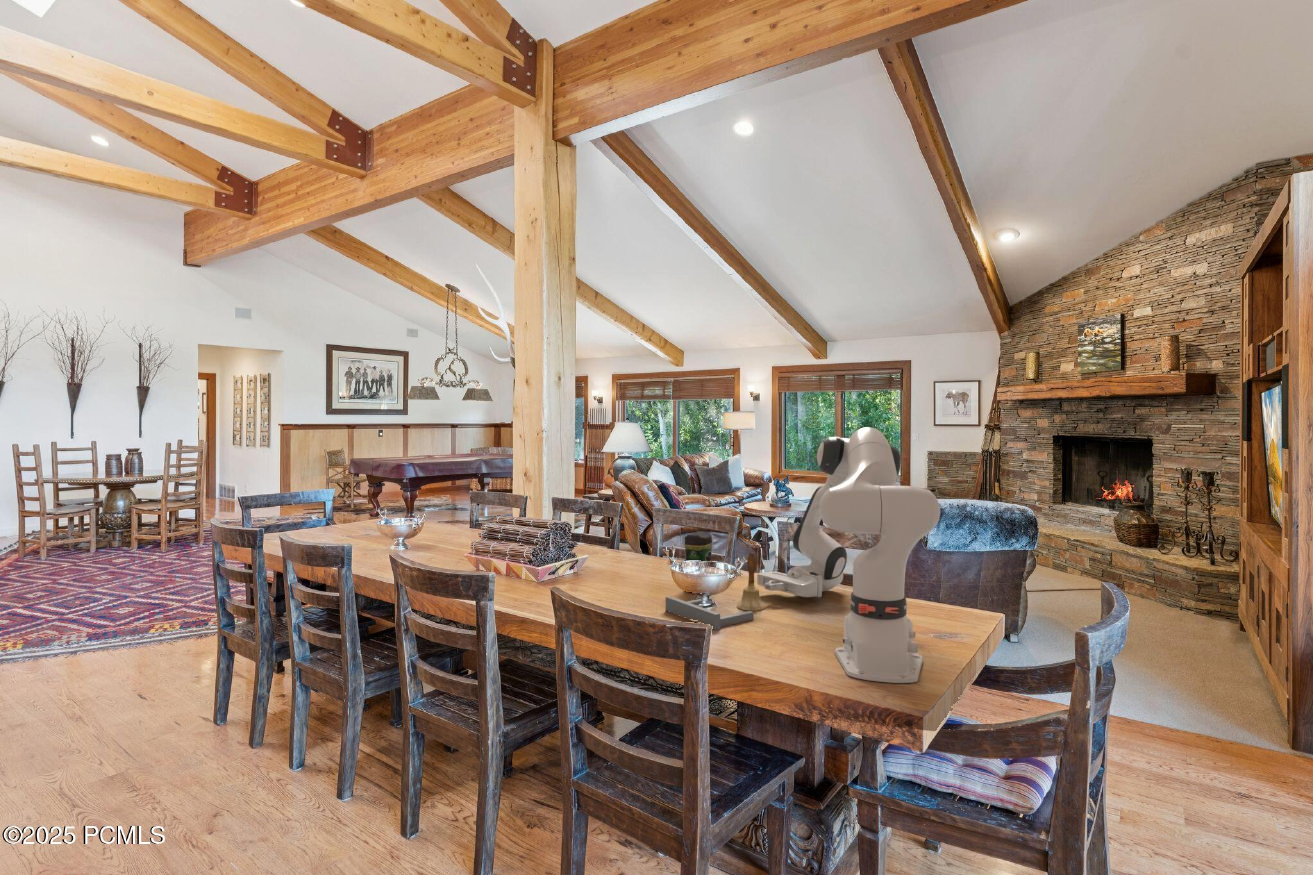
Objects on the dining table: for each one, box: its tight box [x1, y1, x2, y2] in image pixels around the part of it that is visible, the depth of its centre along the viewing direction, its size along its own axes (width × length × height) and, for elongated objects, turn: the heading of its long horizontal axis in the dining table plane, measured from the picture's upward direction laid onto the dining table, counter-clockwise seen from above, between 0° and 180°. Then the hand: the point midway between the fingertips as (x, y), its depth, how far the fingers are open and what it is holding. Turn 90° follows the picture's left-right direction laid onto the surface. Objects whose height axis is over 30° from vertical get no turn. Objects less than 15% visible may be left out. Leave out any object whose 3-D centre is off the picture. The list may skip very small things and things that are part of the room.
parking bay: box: [665, 595, 755, 631], centre depth 184 cm, size 15×22×4 cm, turn 35°
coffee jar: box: [684, 530, 713, 563], centre depth 214 cm, size 10×8×19 cm
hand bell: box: [736, 551, 766, 612], centre depth 192 cm, size 8×8×16 cm
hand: (767, 587), depth 196 cm, fingers closed
